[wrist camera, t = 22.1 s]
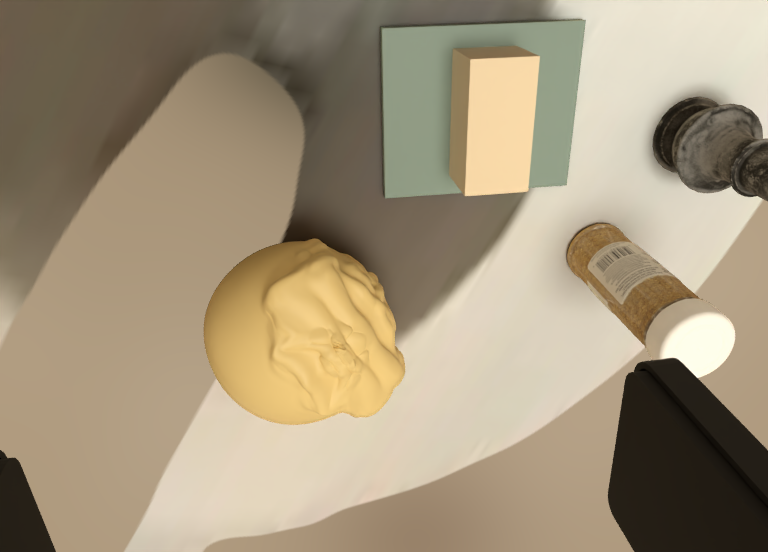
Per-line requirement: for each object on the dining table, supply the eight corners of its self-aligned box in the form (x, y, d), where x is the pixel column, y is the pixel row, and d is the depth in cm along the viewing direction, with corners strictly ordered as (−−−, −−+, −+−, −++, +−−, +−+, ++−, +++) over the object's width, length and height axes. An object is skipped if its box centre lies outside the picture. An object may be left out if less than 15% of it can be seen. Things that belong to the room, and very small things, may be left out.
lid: (382, 192, 44) (395, 221, 40) (379, 25, 40) (393, 37, 35) (559, 179, 46) (591, 206, 41) (577, 18, 41) (615, 28, 37)
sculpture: (409, 311, 48) (443, 402, 39) (272, 389, 50) (273, 495, 40) (328, 187, 43) (345, 257, 34) (177, 277, 44) (152, 369, 35)
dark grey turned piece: (688, 75, 43) (823, 120, 33) (745, 119, 46) (889, 174, 35) (631, 151, 45) (742, 216, 35) (689, 190, 47) (809, 262, 37)
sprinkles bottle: (569, 284, 49) (663, 392, 38) (562, 231, 47) (659, 329, 35) (626, 266, 50) (738, 368, 38) (622, 212, 47) (739, 304, 36)
